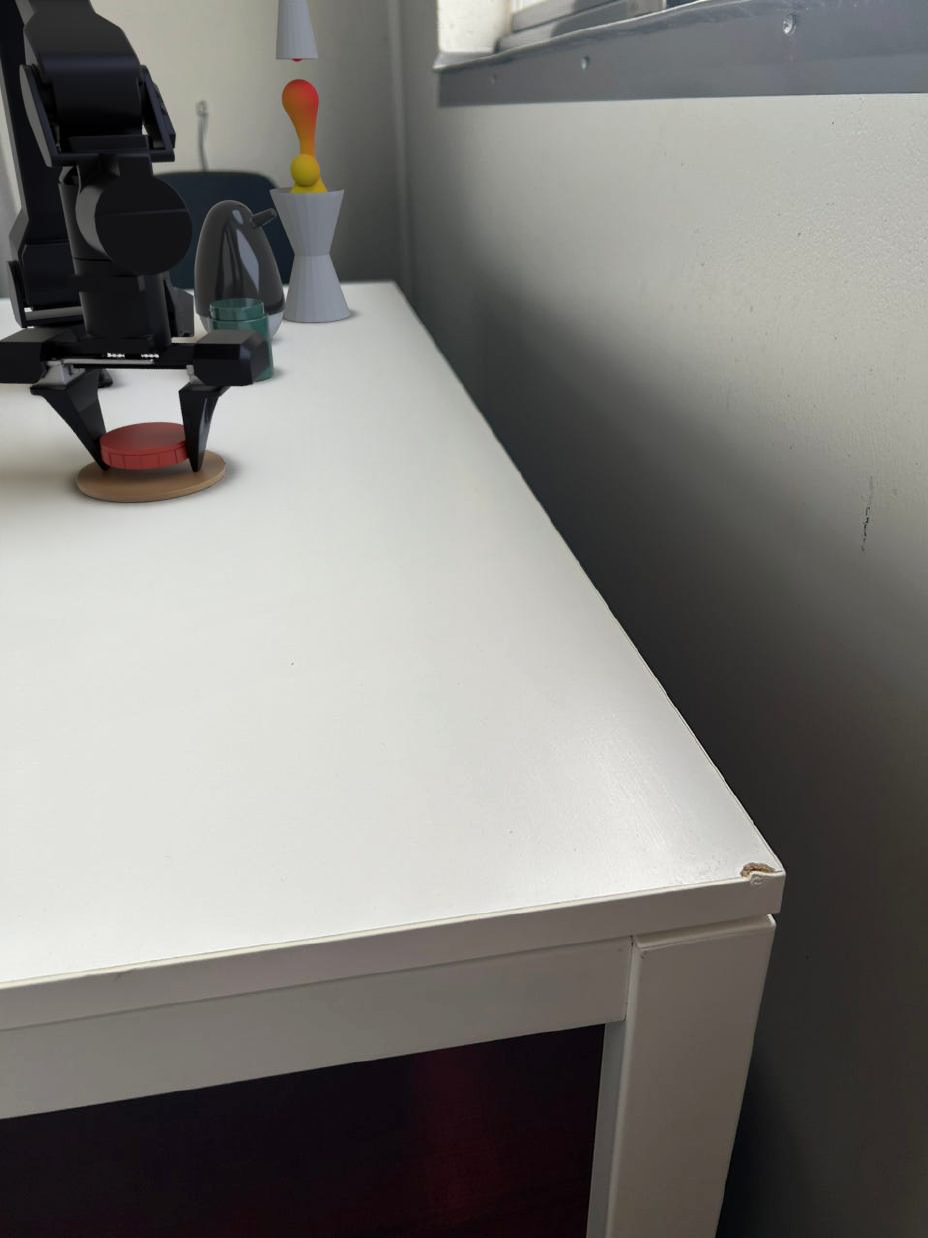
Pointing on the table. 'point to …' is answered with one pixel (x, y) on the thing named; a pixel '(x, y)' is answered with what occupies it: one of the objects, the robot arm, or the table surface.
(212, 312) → the jar
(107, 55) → the robot arm
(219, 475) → the coaster
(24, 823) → the table surface
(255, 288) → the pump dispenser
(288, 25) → the lava lamp
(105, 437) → the jar lid
